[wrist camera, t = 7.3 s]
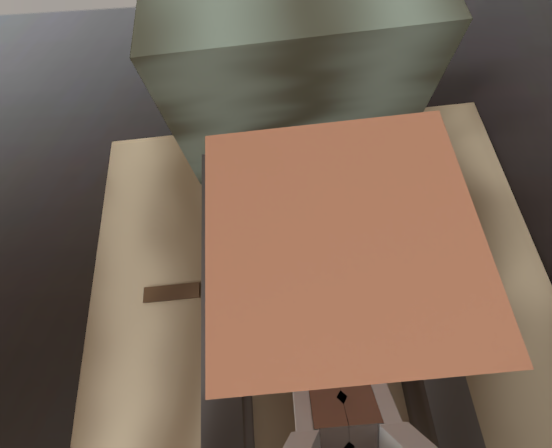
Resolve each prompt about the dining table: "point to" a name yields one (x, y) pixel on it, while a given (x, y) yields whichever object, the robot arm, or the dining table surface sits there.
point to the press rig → (191, 217)
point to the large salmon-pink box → (347, 261)
